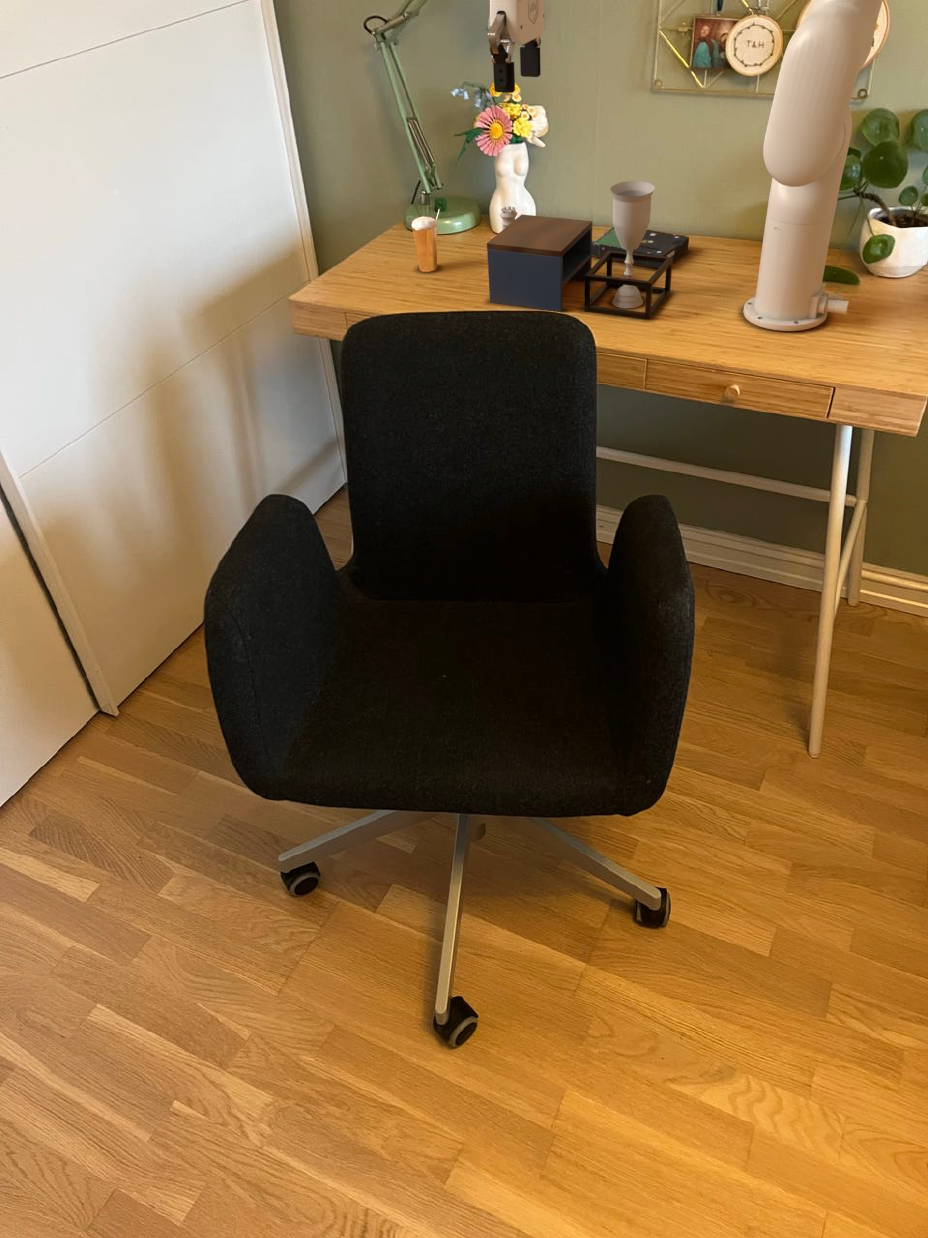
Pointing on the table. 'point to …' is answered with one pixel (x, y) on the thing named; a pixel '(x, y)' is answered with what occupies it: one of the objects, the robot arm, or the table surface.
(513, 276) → the shelf
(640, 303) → the chalice
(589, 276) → the cup rack
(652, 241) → the disk drive
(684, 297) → the table surface
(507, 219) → the rook chess piece
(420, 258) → the milkshake
